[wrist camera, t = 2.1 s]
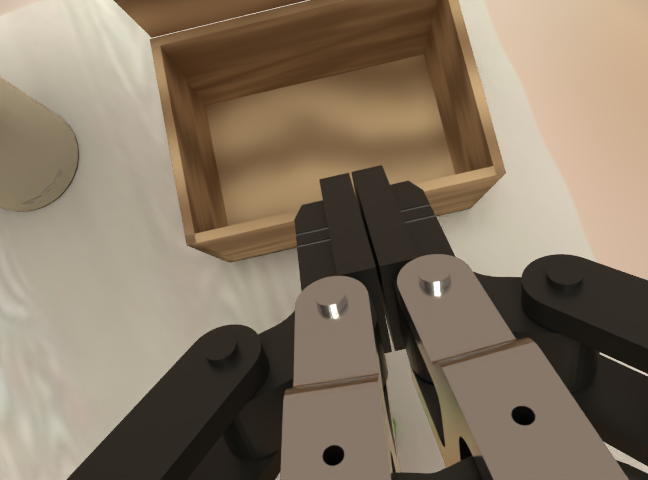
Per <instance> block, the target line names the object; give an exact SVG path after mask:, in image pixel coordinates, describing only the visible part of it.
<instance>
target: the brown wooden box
mask: <svg viewBox="0 0 648 480" xmlns="http://www.w3.org/2000/svg"><path fill="white" fill-rule="evenodd" d="M150 43H151V49H152V54H153V60H154V65H155V71H156V76H157V82H158V88H159V93H160V99H161V104H162V110H163V115H164V121H165V127H166V132H167V138H168V143H169V149H170V154H171V160H172V166H173V171H174V177H175V182H176V188H177V193H178V199H179V204H180V210H181V216H182V221H183V227H184V232H185V238H186V243H187V246H190V247H192V248H195V249H197V250H200V251H202V252H205V253H207V254H210V255H212V256H215V257H217V258H220V259H222V260H224V261H227V262H234V261H238V260H243V259H247V258H252V257H256V256H261V255H265V254H270V253H274V252H278V251H283V250H287V249H292V248H296V247H297V241H296V231H295V222H294V219H295V217H296V215H297V213H298V211H299V209H300V207H301V205H304V204H308V203H312V202H317V201H321V200H323V198H322V192H321V187H320V182H319V179H323V178H327V177H332V176H336V175H340V174H345V173H349V174H350V177H351V181H352V185H353V188H354V184H353V179H352V172H353V171H357V170H362V169H366V168H371V167H375V166H379V165H382V166H383V169H384V171H385V174H386V176H387V179H388V181H389V184H390V185H391V184H395V183H400V182H404V181H410V182H412V183H413V184H415V185H416V186H418V187H419V188H421V189H422V190H423V191H424V193H425V195H426V197H427V199H428V201H429V203H430V206H431V207H432V209H433V211H434V214H435V216H439V215H443V214H448V213H452V212H457V211H461V210H466V209H470V208H471V207H472V206H473V205H474V204H475V203H476V202H477V201H478V200H479V199H480V198H481V197H482V196H483V195H484V194H485V193H486V192H487V191H488V190H489V189H490V188H491V187H492V186H493V185H494V184H495V183H496V182H497V181H498V180H499V179H500V178H501V177H502V176H503V175H504V174H505V173H506V172H505V168H504V164H503V161H502V157H501V154H500V150H499V146H498V143H497V139H496V135H495V132H494V128H493V125H492V121H491V117H490V114H489V110H488V106H487V103H486V99H485V95H484V92H483V88H482V85H481V81H480V77H479V74H478V70H477V66H476V63H475V59H474V56H473V52H472V48H471V45H470V41H469V37H468V34H467V30H466V26H465V23H464V19H463V16H462V12H461V8H460V5H459V1H458V0H310V1H306V2H302V3H298V4H294V5H290V6H285V7H281V8H277V9H273V10H269V11H265V12H261V13H256V14H252V15H248V16H244V17H240V18H236V19H232V20H227V21H223V22H219V23H215V24H211V25H207V26H203V27H198V28H194V29H190V30H186V31H182V32H178V33H174V34H170V35H165V36H161V37H157V38H153V39H150ZM354 192H355V189H354ZM355 195H356V194H355Z"/></svg>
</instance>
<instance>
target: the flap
mask: <svg viewBox="0 0 648 480" xmlns="http://www.w3.org/2000/svg"><path fill="white" fill-rule="evenodd" d="M114 1H115V2H116V3H117V4H118V5H119V6H120V7H121V8H122V9H123V10H124V11H125V12H126V13H127V14H128V15H129V16H130V17H131V18H132V19H133V20H134V21H135V22H136V23H137V24H138V25H139V26H141V27H142V28H143V29H144V30H145V31H146V32H147V33H148V34H149V35H150V36H151V37H156V36H160V35H165V34H169V33H173V32H177V31H181V30H185V29H189V28H194V27H198V26H202V25H206V24H210V23H214V22H218V21H223V20H227V19H231V18H235V17H239V16H243V15H247V14H251V13H256V12H260V11H264V10H268V9H272V8H276V7H280V6H285V5H289V4H293V3H297V2H301V1H305V0H114Z"/></svg>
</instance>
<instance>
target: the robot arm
mask: <svg viewBox="0 0 648 480" xmlns="http://www.w3.org/2000/svg"><path fill="white" fill-rule="evenodd" d="M77 161H78V146H77V142H76V139H75V135H74V134H73V132H72V130H71V128H70V126H69V125H68V124H67V123H66V122H65V121H64V120H63V119H62V118H61V117H59V116H58V115H56V114H55V113H53V112H52V111H50V110H49V109H47V108H46V107H45V106H43V105H42V104H40V103H39V102H37V101H36V100H34V99H33V98H31V97H30V96H28V95H27V94H25V93H24V92H22V91H21V90H19V89H18V88H16V87H15V86H13V85H12V84H10V83H9V82H7V81H6V80H4V79H3V78H1V77H0V207H2V208H5V209H9V210H14V211H30V210H34V209H38V208H41V207H43V206H45V205H47V204H49V203H51V202H52V201H54V200H55V199H56V198H58V197H59V196H60V195H61V194H62V193H63V192H64V190H65V189H66V188H67V187H68V185H69V183H70V182H71V180H72V178H73V176H74V173H75V170H76V168H77ZM352 179H353V184H354V188H353V185H352V181H351V177H350V174H349V173H345V174H340V175H336V176H332V177H327V178H323V179H319V182H320V187H321V192H322V198H323V200H321V201H317V202H312V203H308V204H304V205H301V207H300V209H299V211H298V213H297V215H296V217H295V219H294V222H295V231H296V241H297V251H298V261H299V270H300V280H301V290H302V292H301V293H300V295H299V296H298V298H297V301H296V304H295V311H294V312H293V313H292V314H291V315H290V316H289V317H288V318H287V319H286V320H284V321H283V322H282V323H280V324H278V325H276V326H275V327H273V328H271V329H269V330H267V331H264V332H262V333H260V334H257V333H256V332H255V331H254V330H253V329H251V328H249V327H247V326H243V325H226V326H222V327H218V328H216V329H213V330H211V331H209V332H208V333H206V334H204V335H203V336H202V337H200V338H199V339H198V340H197V341H196V342H195V343H194V344H193V345H192V346H191V347H190V348H189V349H188V351H187V352H186V353H185V354H184V355H183V356H182V357H181V358H180V359H179V360H178V361H177V362H176V363H175V364H174V366H173V367H172V368H171V369H170V370H169V371H168V372H167V373H166V374H165V375H164V376H163V377H162V378H161V379H160V380H159V382H158V383H157V384H156V385H155V386H154V387H153V388H152V389H151V390H150V391H149V392H148V393H147V394H146V395H145V396H144V398H143V399H142V400H141V401H140V402H139V403H138V404H137V405H136V406H135V407H134V408H133V409H132V410H131V411H130V413H129V414H128V415H127V416H126V417H125V418H124V419H123V420H122V421H121V422H120V423H119V424H118V425H117V426H116V427H115V429H114V430H113V431H112V432H111V433H110V434H109V435H108V436H107V437H106V438H105V439H104V440H103V441H102V442H101V443H100V445H99V446H98V447H97V448H96V449H95V450H94V451H93V452H92V453H91V454H90V455H89V456H88V457H87V458H86V459H85V461H84V462H83V463H82V464H81V465H80V466H79V467H78V468H77V469H76V470H75V471H74V472H73V473H72V474H71V476H70V477H69V478H68V479H67V480H275V479H276V477H277V476H278V474H279V473H280V471H281V474H280V480H648V474H647V473H645V472H643V471H641V470H639V469H637V468H634V467H632V466H630V465H628V464H625V463H623V462H620V461H617V460H615V458H614V457H613V455H612V454H611V453H610V451H609V450H608V448H607V447H606V445H605V444H604V442H605V443H607V444H609V445H611V446H612V447H614V448H616V449H618V450H620V451H621V452H623V453H625V454H627V455H629V456H630V457H632V458H634V459H636V460H637V461H639V462H641V463H643V464H645V465H646V466H648V376H645V375H643V374H641V373H639V372H637V371H634V370H632V369H630V368H628V367H626V366H624V365H621V364H619V363H617V362H615V361H613V360H611V359H608V358H606V357H604V356H602V355H600V354H599V353H600V352H601V353H603V354H606V355H608V356H610V357H612V358H614V359H617V360H619V361H621V362H623V363H625V364H627V365H630V366H632V367H634V368H636V369H638V370H641V371H643V372H645V373H647V374H648V280H645V279H642V278H639V277H636V276H633V275H630V274H628V273H625V272H622V271H619V270H616V269H613V268H610V267H608V266H605V265H602V264H599V263H596V262H593V261H591V260H588V259H585V258H582V257H578V256H573V255H564V254H559V255H549V256H545V257H541V258H539V259H536V260H535V261H533V262H531V263H530V264H529V265H528V266H527V267H526V268H525V270H524V272H523V274H522V277H491V276H485V275H481V274H478V273H475V272H473V271H472V270H471V268H470V267H469V266H468V265H467V264H466V263H465V262H464V261H462V260H461V259H459V258H456V257H455V255H454V253H453V251H452V249H451V247H450V245H449V243H448V240H447V238H446V236H445V234H444V232H443V230H442V228H441V226H440V224H439V222H438V220H437V218H436V217H435V214H434V211H433V209H432V207H431V206H430V203H429V201H428V199H427V197H426V195H425V193H424V191H423V190H422V189H421V188H419V187H418V186H416V185H415V184H413V183H412V182H410V181H404V182H400V183H395V184H391V185H390V184H389V181H388V179H387V176H386V174H385V171H384V169H383V166H382V165H379V166H375V167H371V168H366V169H362V170H357V171H353V172H352ZM354 189H355V192H354ZM355 194H356V195H355ZM385 316H386V318H385ZM386 320H387V323H386ZM387 324H388V327H389V331H390V335H391V338H392V342H393V345H394V349H395V351H397V350H402V349H406V351H407V355H408V358H409V361H410V367H411V373H412V379H413V382H414V385H415V388H416V390H417V393H418V395H419V398H420V400H421V403H422V405H423V408H424V410H425V413H426V416H427V418H428V421H429V423H430V426H431V428H432V431H433V433H434V436H435V438H436V441H437V444H438V446H439V449H440V451H441V454H442V456H443V459H444V462H445V465H446V468H445V469H443V470H441V471H439V472H436V473H430V474H424V473H401V472H400V467H399V460H398V454H397V447H396V440H395V433H394V426H393V420H392V413H391V406H390V399H389V393H388V387H387V382H386V381H387V377H388V371H387V365H386V360H385V355H384V353H389V352H392V350H391V345H390V339H389V334H388V329H387Z"/></svg>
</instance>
